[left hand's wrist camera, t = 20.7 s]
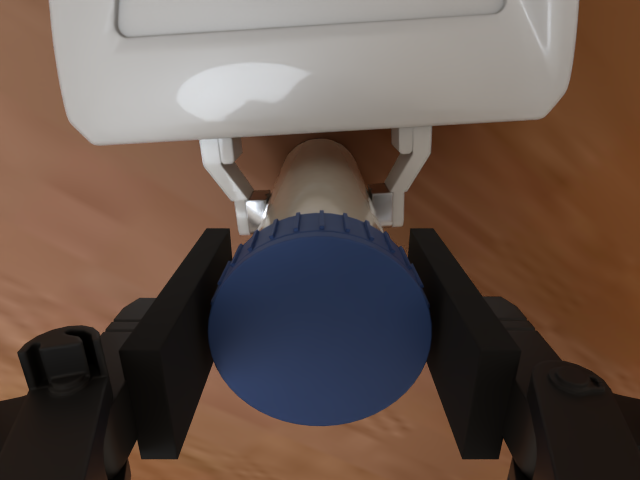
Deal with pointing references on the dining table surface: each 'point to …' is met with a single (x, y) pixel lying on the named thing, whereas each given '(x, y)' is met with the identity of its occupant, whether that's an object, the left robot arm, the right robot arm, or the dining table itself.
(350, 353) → the lid
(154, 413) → the left robot arm
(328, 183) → the jar
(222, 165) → the right robot arm
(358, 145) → the dining table surface
